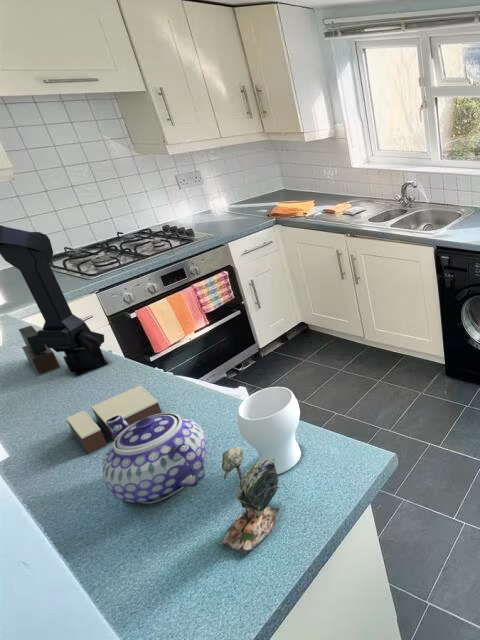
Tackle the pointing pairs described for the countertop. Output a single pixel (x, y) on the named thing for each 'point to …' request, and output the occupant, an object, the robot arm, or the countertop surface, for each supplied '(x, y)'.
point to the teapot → (154, 457)
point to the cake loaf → (126, 407)
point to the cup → (271, 426)
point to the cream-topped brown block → (86, 431)
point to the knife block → (42, 360)
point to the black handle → (32, 340)
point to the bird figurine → (251, 501)
